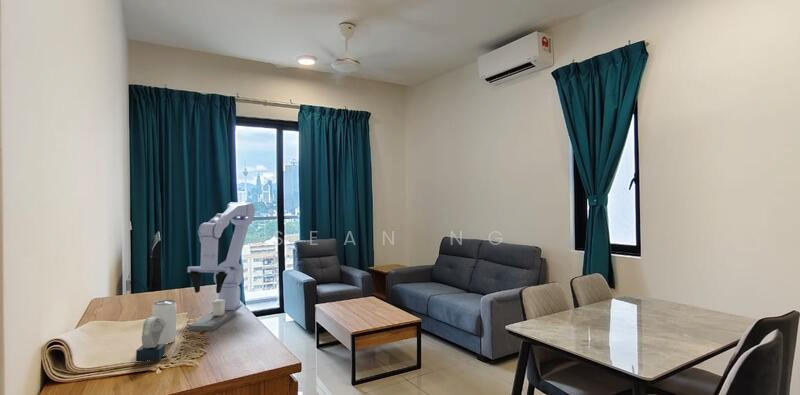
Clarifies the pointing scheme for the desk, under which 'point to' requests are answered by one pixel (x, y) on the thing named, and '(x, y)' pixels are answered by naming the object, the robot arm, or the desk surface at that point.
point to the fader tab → (218, 307)
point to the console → (211, 322)
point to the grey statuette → (151, 340)
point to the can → (166, 319)
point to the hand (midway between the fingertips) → (207, 292)
